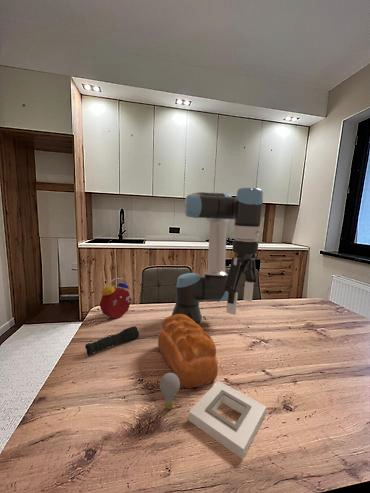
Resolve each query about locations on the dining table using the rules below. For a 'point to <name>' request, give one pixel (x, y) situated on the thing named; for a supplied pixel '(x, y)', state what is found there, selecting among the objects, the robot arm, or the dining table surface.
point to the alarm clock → (115, 300)
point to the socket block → (223, 429)
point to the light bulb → (169, 388)
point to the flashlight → (112, 340)
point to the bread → (188, 351)
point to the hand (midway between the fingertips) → (239, 306)
